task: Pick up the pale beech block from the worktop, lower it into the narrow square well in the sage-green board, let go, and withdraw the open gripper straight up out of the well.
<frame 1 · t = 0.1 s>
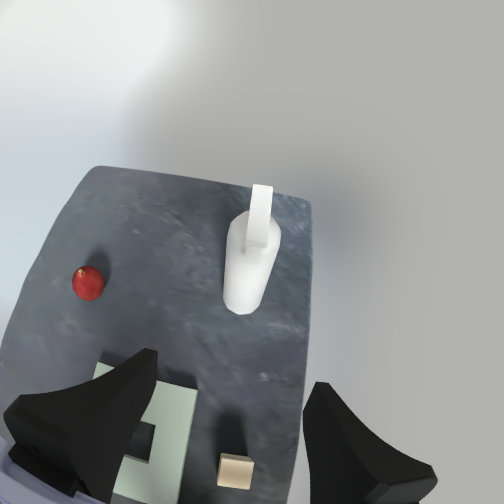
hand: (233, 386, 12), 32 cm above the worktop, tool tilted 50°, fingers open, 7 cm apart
well board: (135, 437, 34), on the worktop
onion: (95, 293, 46), on the worktop
beech block: (232, 466, 33), on the worktop
fire extinguisher: (242, 294, 50), on the worktop
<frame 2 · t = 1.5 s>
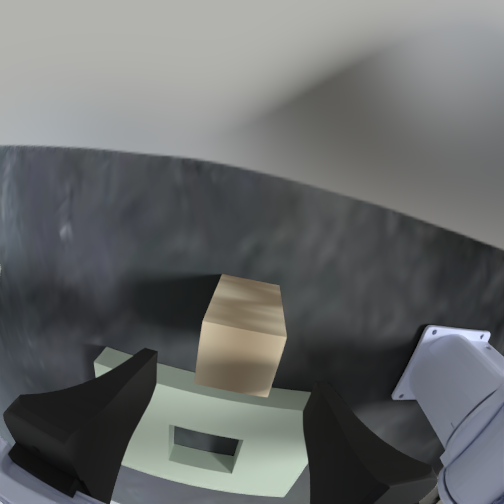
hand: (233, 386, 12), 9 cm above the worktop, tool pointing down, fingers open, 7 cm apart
well board: (206, 434, 24), on the worktop
beech block: (245, 305, 20), on the worktop
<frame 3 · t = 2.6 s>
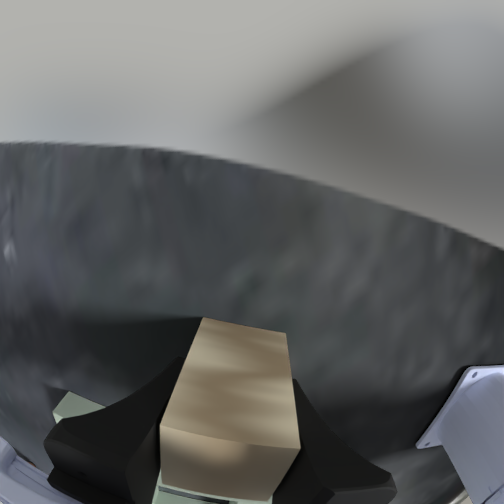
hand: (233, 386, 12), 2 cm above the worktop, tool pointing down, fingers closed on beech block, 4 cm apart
well board: (195, 485, 18), on the worktop
beech block: (237, 358, 14), on the worktop, touching gripper
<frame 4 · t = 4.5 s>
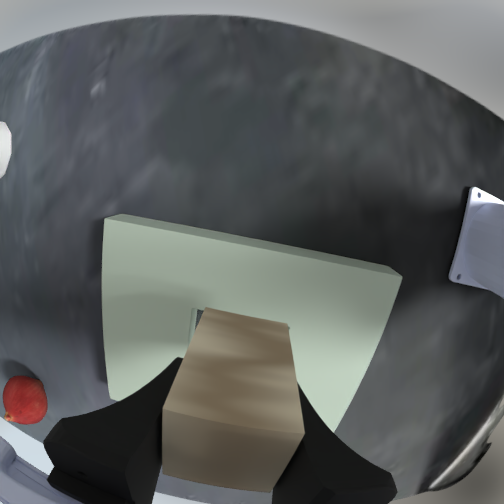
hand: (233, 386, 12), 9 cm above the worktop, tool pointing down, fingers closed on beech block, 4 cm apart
well board: (235, 339, 22), on the worktop
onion: (41, 382, 25), on the worktop
beech block: (238, 349, 14), point 7 cm above the worktop, touching gripper
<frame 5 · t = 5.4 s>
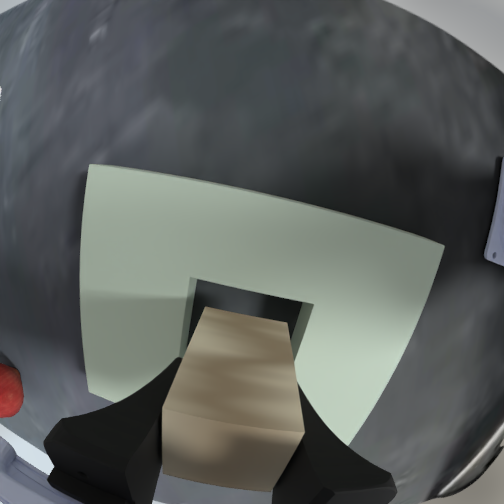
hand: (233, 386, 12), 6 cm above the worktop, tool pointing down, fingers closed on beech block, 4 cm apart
well board: (242, 323, 18), on the worktop
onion: (18, 371, 21), on the worktop
beech block: (238, 349, 14), point 4 cm above the worktop, touching gripper
when the fingers open (3 cm above the worktop, at t = 6.3 s): beech block stays where it is, resting in well board.
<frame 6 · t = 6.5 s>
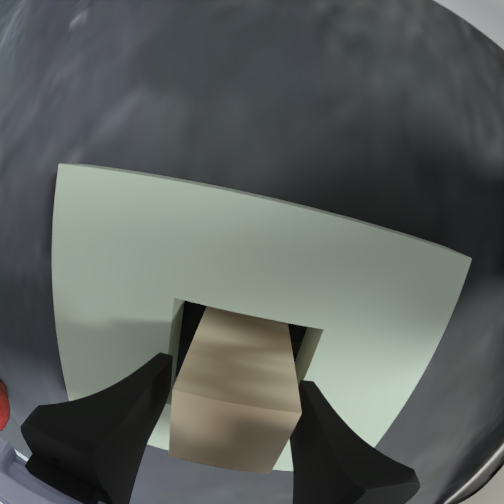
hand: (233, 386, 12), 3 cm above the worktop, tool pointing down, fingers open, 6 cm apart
well board: (238, 346, 15), on the worktop
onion: (5, 384, 18), on the worktop
beech block: (240, 339, 15), resting in well board
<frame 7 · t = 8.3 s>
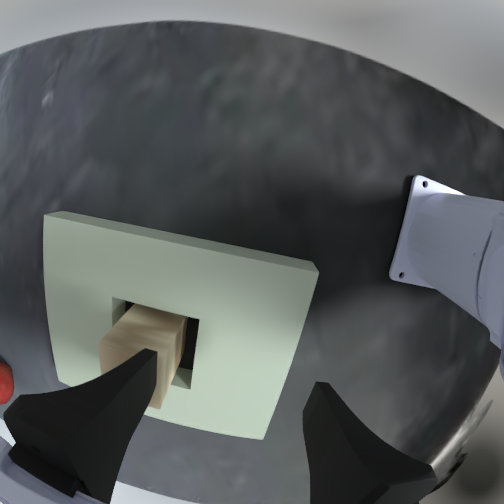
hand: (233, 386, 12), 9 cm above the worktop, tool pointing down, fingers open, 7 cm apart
well board: (161, 330, 22), on the worktop
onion: (10, 367, 25), on the worktop
beech block: (162, 326, 22), resting in well board
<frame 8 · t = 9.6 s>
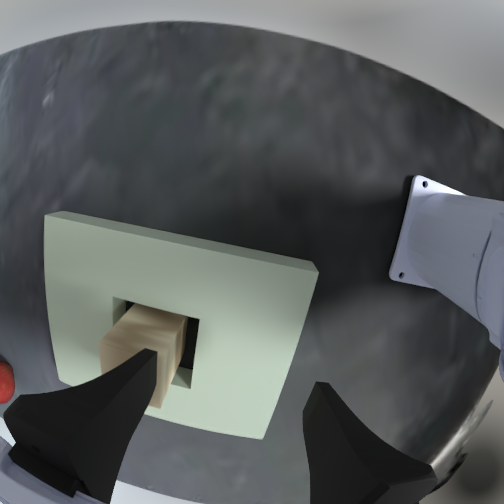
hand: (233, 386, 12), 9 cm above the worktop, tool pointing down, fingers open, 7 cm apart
well board: (161, 330, 22), on the worktop
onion: (11, 366, 25), on the worktop
beech block: (162, 325, 22), resting in well board
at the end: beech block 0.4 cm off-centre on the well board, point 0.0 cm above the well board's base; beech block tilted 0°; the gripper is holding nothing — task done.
